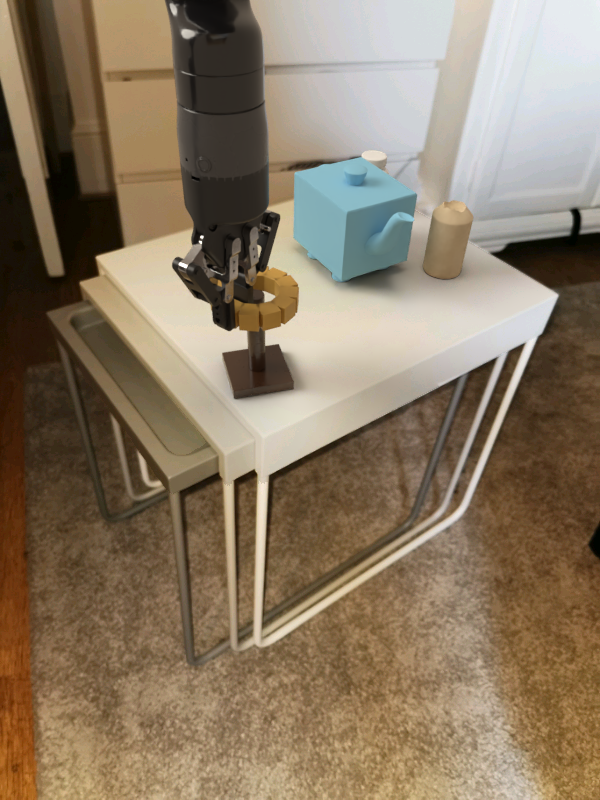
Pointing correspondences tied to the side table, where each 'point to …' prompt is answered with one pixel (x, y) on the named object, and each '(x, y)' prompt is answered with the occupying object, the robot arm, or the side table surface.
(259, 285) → the ring
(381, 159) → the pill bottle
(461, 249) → the candle
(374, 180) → the teapot
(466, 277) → the side table surface
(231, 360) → the post
